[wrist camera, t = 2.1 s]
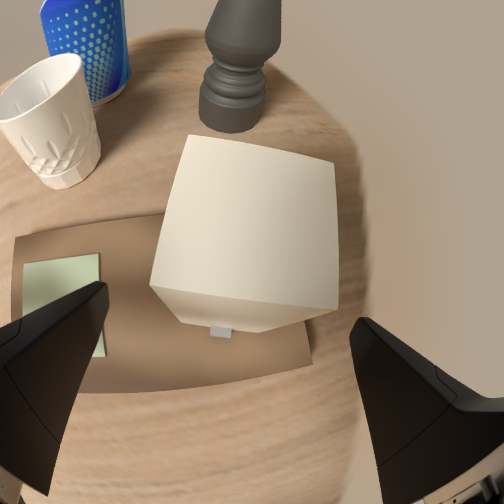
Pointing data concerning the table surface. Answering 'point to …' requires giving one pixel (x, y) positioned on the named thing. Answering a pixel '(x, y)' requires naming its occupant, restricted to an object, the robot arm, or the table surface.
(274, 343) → the board
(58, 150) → the white cup
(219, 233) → the tall white prism
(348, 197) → the table surface
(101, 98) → the beer can
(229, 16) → the candle holder
